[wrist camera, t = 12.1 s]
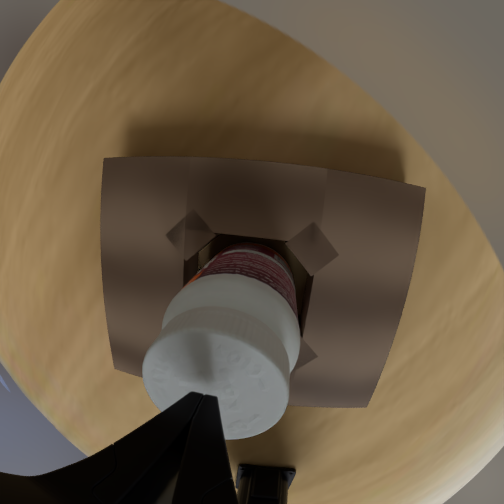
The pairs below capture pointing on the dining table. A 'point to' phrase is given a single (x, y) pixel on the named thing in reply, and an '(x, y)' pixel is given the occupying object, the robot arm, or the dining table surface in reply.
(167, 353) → the pill bottle
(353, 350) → the socket board
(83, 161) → the dining table surface
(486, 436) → the dining table surface
